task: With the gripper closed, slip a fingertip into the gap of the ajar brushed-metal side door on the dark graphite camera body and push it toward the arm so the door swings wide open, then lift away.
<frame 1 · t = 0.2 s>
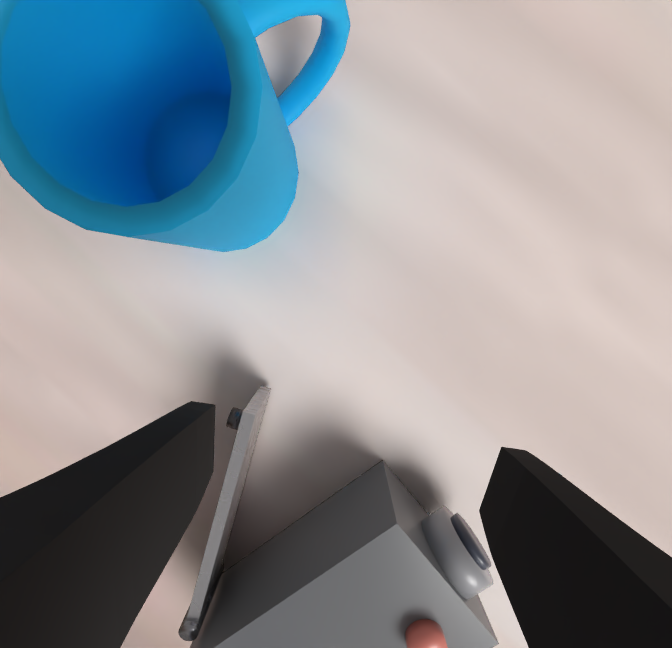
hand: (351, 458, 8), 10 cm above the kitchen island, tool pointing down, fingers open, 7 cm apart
camera body: (338, 565, 21), on the kitchen island
mug: (250, 150, 17), on the kitchen island
side door: (222, 505, 18), point 2 cm above the kitchen island, hinge at 35.0°
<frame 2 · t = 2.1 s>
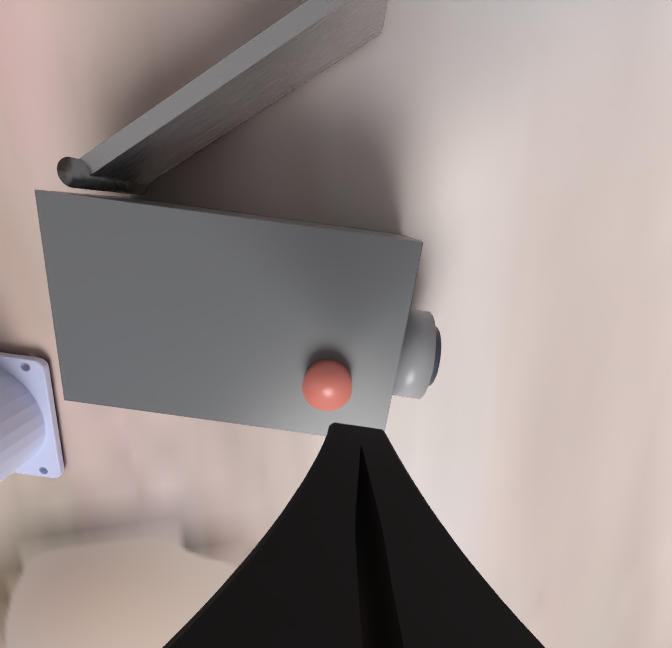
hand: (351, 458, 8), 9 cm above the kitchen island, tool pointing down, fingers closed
camera body: (260, 297, 17), on the kitchen island
side door: (223, 90, 12), point 2 cm above the kitchen island, hinge at 35.0°
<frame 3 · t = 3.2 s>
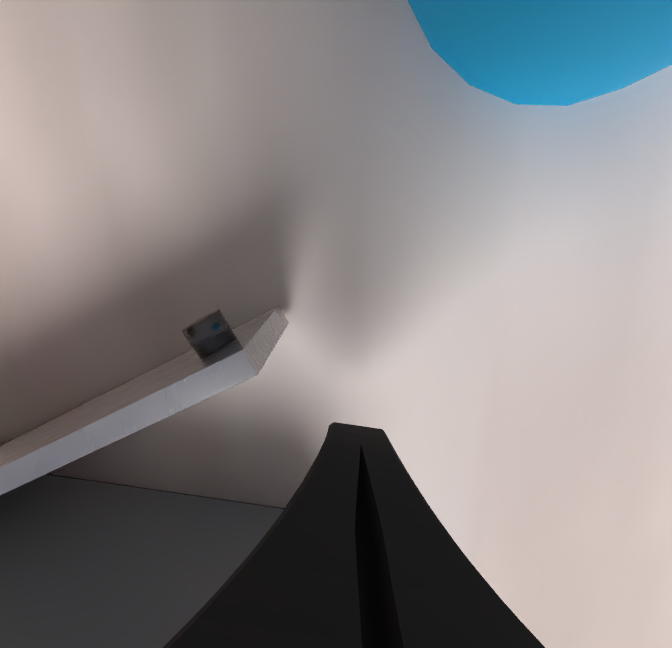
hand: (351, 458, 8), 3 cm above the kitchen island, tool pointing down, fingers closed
camera body: (163, 566, 14), on the kitchen island
side door: (69, 420, 9), point 2 cm above the kitchen island, hinge at 35.0°
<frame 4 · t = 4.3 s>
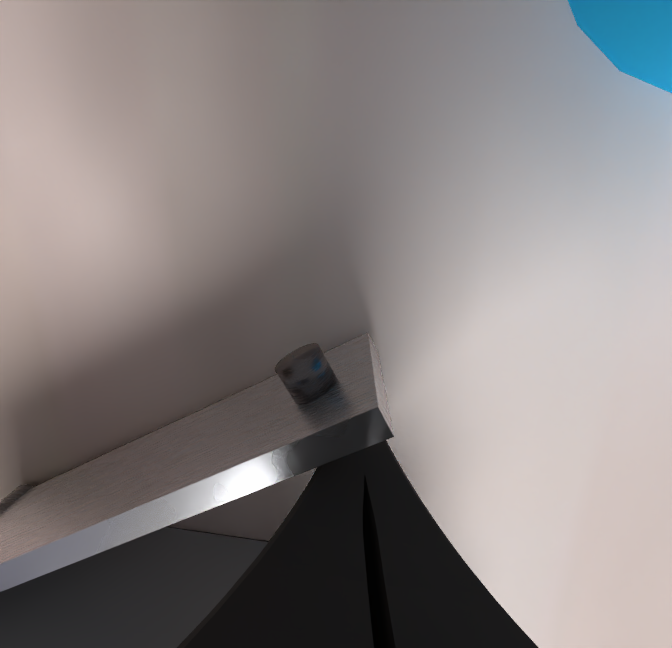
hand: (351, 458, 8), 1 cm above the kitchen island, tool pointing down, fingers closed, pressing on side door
camera body: (212, 613, 13), on the kitchen island
side door: (128, 469, 8), point 2 cm above the kitchen island, hinge at 35.0°, touching gripper
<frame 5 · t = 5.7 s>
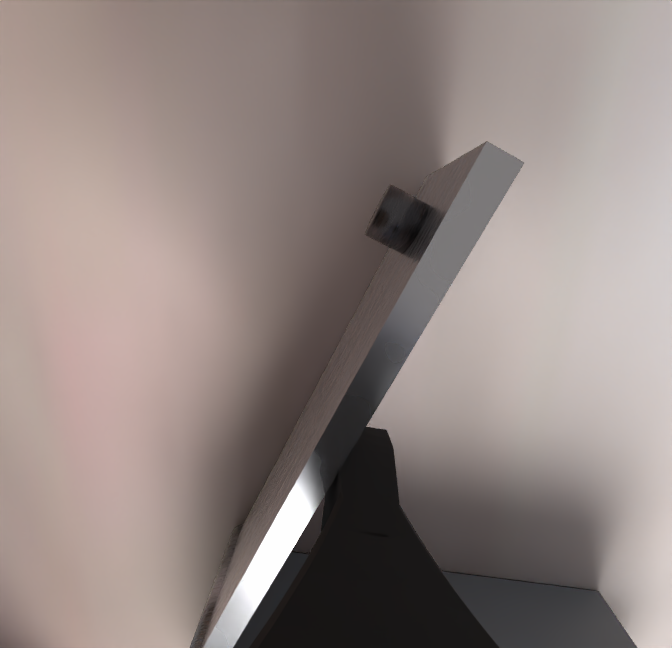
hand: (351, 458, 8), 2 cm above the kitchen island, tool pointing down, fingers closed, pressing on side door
camera body: (395, 644, 13), on the kitchen island
side door: (304, 432, 8), point 2 cm above the kitchen island, hinge at 71.5°, touching gripper
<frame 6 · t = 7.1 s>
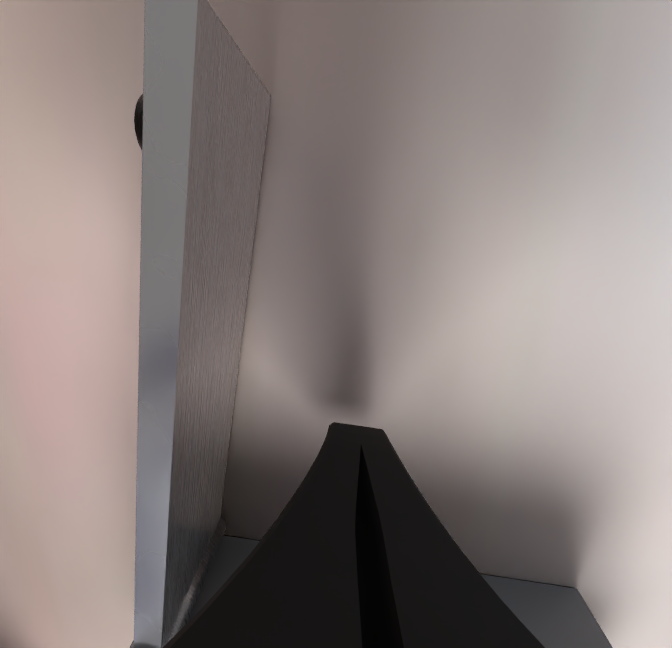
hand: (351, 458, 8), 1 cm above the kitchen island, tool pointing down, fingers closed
camera body: (367, 637, 13), on the kitchen island
side door: (184, 395, 7), point 2 cm above the kitchen island, hinge at 86.8°
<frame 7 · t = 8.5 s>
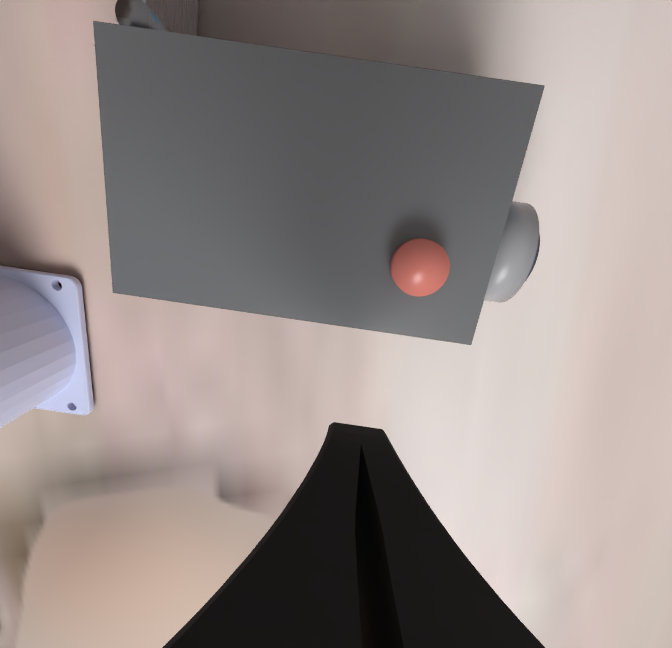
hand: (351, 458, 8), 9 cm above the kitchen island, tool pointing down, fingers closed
camera body: (318, 206, 15), on the kitchen island
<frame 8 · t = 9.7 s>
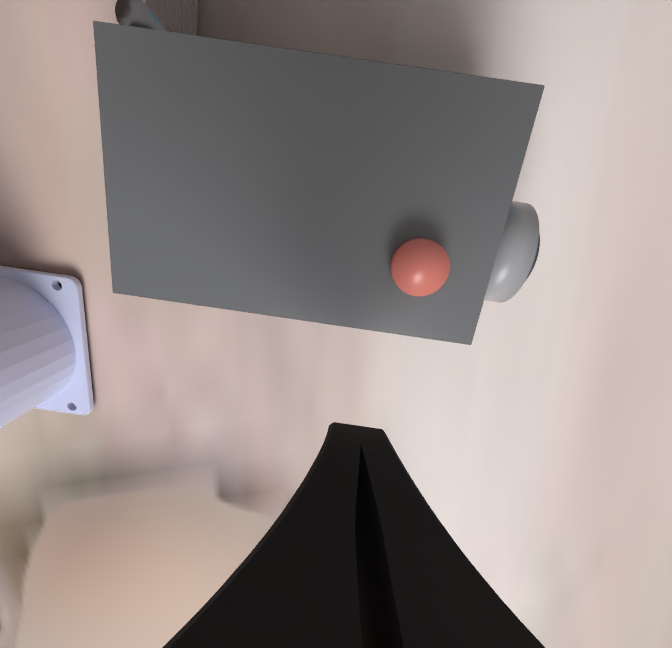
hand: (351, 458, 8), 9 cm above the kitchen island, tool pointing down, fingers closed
camera body: (318, 206, 15), on the kitchen island
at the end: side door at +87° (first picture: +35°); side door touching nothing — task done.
